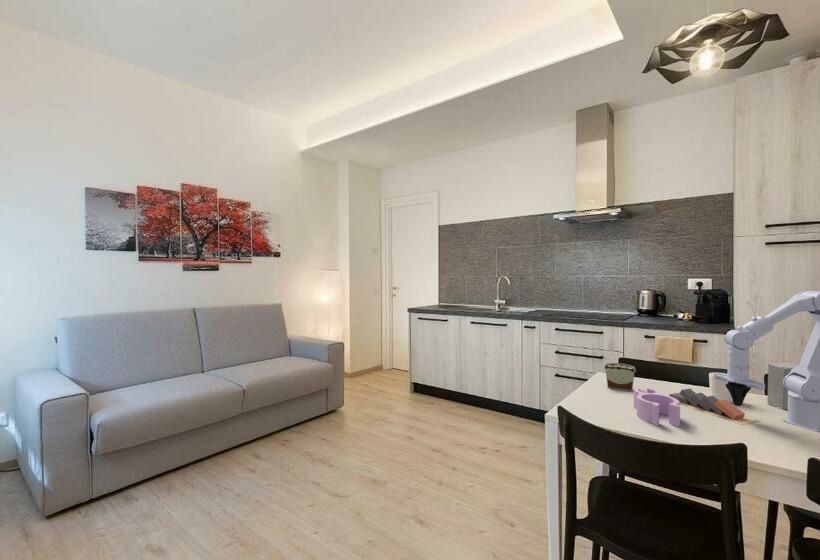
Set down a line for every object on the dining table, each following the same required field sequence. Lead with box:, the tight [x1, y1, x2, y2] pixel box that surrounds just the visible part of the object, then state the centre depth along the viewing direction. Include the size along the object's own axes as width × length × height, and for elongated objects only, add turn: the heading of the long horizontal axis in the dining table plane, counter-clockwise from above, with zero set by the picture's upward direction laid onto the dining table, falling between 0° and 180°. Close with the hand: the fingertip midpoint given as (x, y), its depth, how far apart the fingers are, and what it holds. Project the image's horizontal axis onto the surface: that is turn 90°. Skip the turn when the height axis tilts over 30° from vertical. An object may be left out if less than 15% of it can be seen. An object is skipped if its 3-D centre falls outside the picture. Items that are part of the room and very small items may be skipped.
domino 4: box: [702, 395, 725, 415], centre depth 140 cm, size 2×5×7 cm
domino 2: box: [679, 388, 701, 407], centre depth 149 cm, size 2×5×7 cm
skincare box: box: [767, 362, 799, 410], centre depth 145 cm, size 8×7×16 cm
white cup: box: [708, 372, 733, 404], centre depth 153 cm, size 8×8×10 cm
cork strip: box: [679, 402, 760, 426], centre depth 142 cm, size 26×9×1 cm, turn 19°
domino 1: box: [668, 392, 691, 404], centre depth 152 cm, size 2×5×7 cm
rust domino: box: [714, 399, 746, 420], centre depth 136 cm, size 2×5×7 cm
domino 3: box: [691, 392, 713, 411], centre depth 144 cm, size 2×5×7 cm
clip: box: [633, 387, 681, 428], centre depth 139 cm, size 20×12×7 cm, turn 170°
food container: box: [603, 362, 637, 392], centre depth 171 cm, size 12×6×10 cm, turn 58°
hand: (738, 405), depth 134 cm, fingers closed
